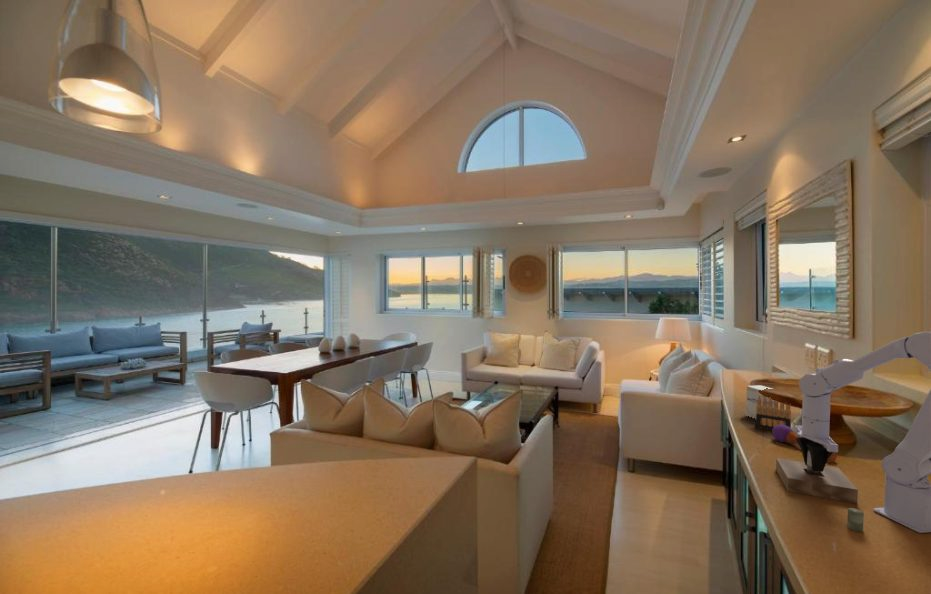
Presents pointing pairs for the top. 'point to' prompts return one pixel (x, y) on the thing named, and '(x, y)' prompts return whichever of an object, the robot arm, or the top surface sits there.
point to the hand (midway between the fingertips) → (813, 468)
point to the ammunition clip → (772, 414)
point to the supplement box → (755, 400)
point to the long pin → (810, 465)
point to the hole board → (816, 481)
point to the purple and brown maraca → (791, 437)
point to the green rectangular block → (855, 519)
